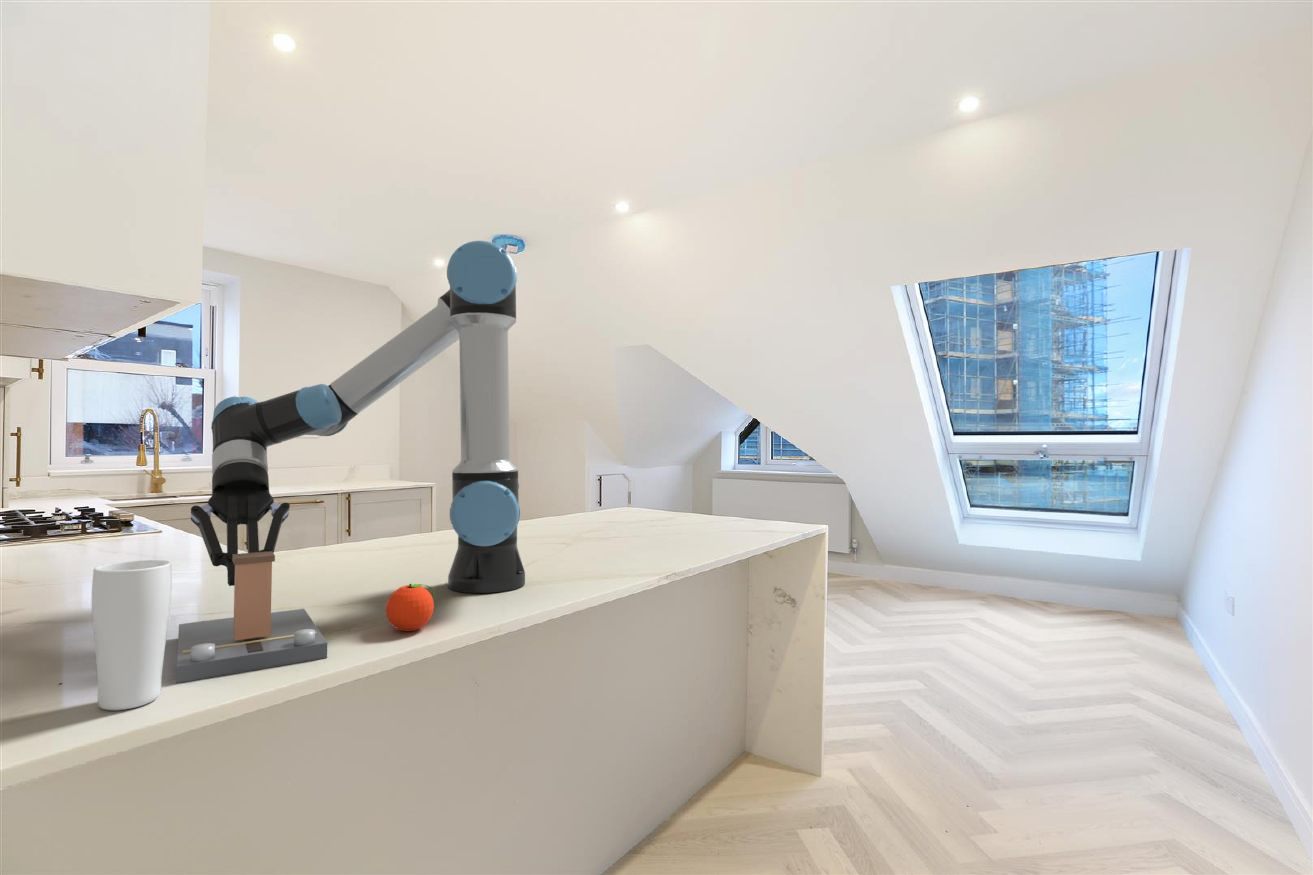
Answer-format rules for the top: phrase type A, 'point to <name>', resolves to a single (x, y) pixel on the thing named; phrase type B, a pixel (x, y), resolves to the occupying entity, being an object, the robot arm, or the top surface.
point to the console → (246, 646)
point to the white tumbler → (130, 630)
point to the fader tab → (252, 594)
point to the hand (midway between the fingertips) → (244, 602)
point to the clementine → (410, 607)
